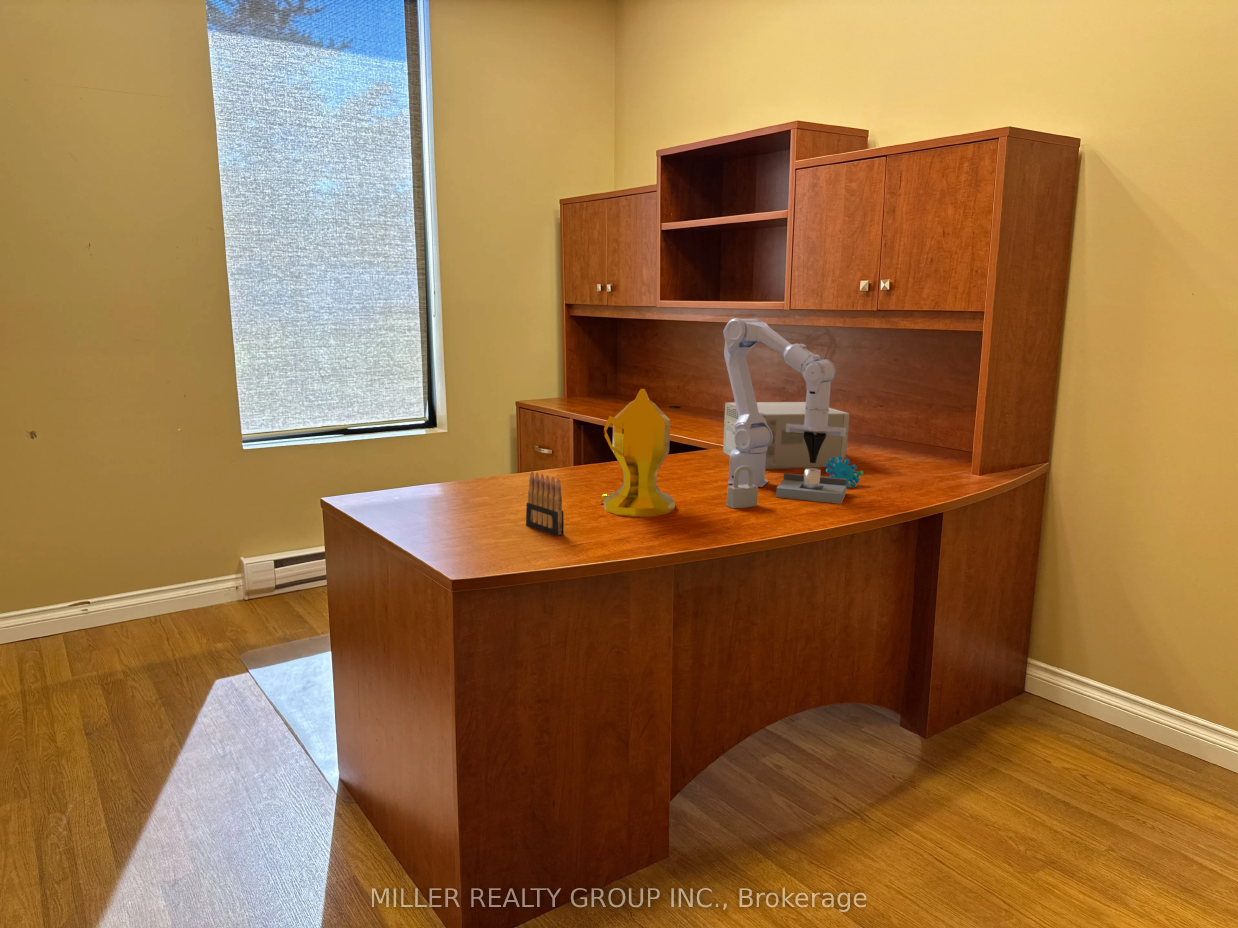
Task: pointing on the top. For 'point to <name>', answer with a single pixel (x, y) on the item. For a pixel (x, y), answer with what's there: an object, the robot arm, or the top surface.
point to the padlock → (742, 491)
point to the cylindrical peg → (811, 478)
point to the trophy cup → (639, 459)
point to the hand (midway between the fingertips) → (813, 462)
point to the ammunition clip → (545, 505)
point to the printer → (790, 435)
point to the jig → (828, 489)
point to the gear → (844, 471)
